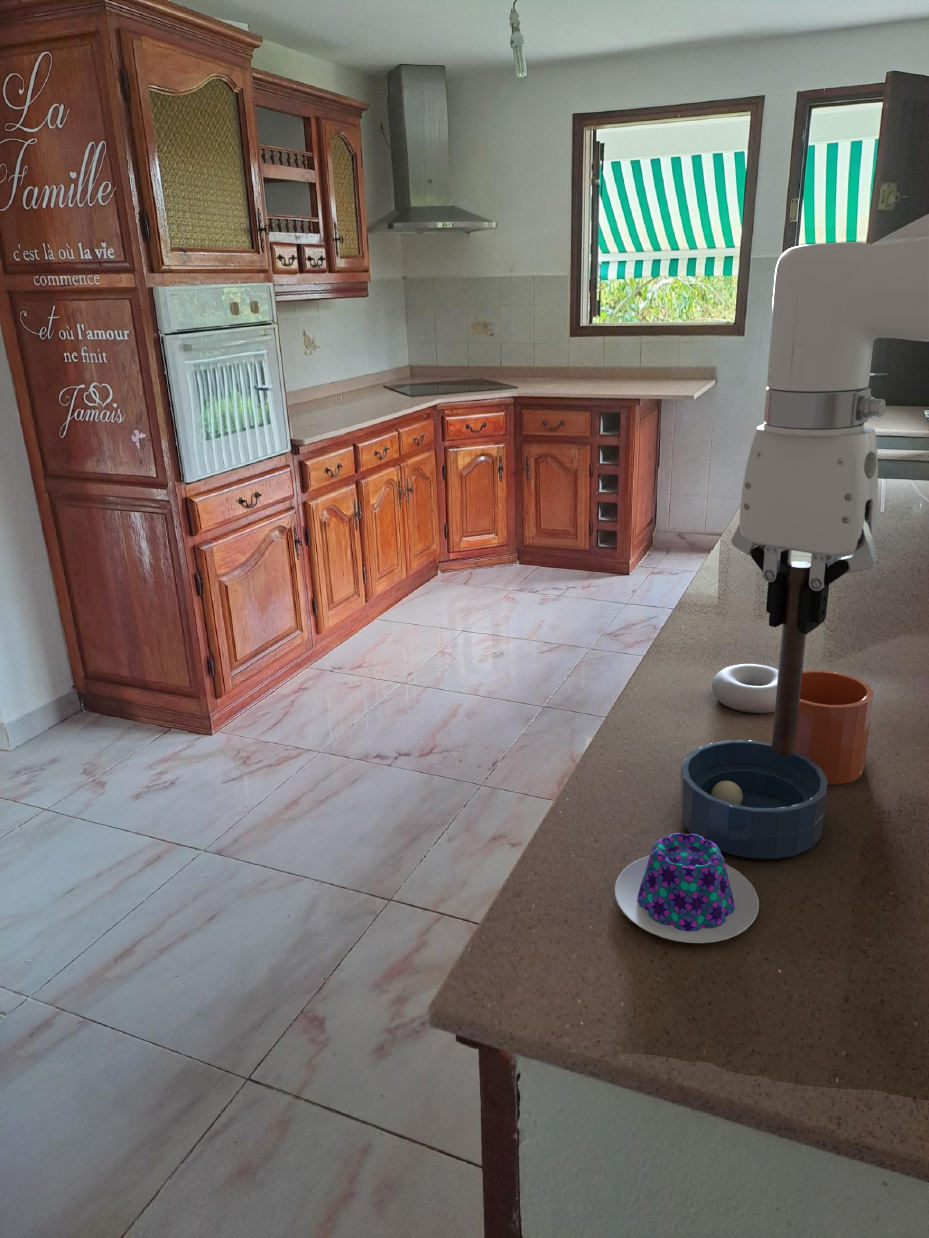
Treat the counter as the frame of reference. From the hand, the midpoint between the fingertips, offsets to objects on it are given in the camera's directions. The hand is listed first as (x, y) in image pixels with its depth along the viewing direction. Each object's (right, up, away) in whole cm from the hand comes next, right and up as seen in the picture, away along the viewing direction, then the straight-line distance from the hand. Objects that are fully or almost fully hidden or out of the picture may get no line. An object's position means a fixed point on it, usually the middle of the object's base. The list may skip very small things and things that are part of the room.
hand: (794, 624), depth 77 cm
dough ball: (-3, -17, +10) cm, 20 cm away
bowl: (-1, -19, +9) cm, 22 cm away
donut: (+7, -10, +34) cm, 36 cm away
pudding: (-10, -24, -1) cm, 26 cm away
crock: (+10, -15, +19) cm, 26 cm away
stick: (+1, -12, +4) cm, 13 cm away
